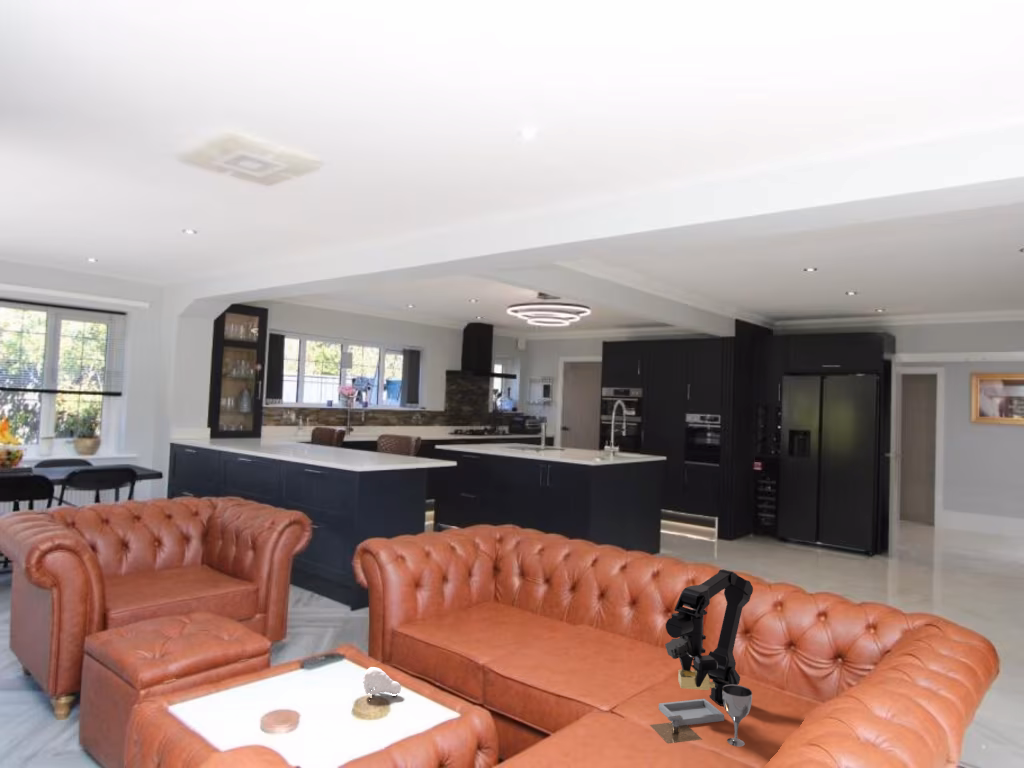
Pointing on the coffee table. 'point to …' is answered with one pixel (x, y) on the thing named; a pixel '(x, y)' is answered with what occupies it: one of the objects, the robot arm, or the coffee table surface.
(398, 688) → the grey lumpy shape
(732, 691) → the wine glass
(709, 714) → the tray
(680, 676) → the gold hollow rectangular block
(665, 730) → the brown peg base plate
